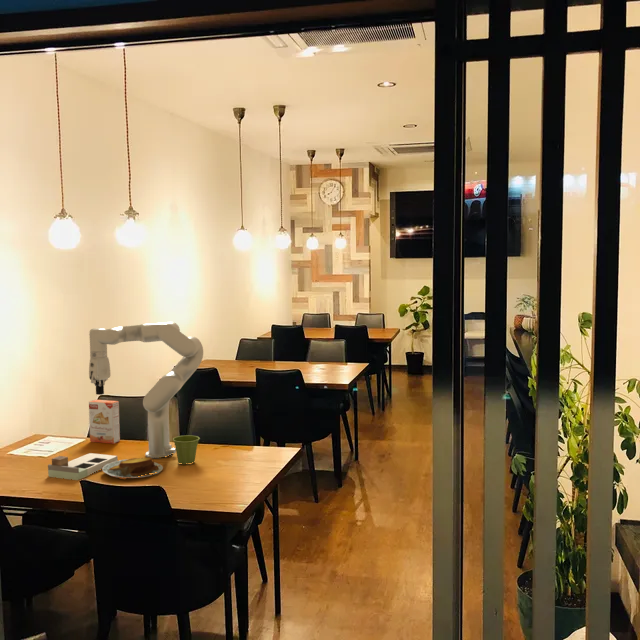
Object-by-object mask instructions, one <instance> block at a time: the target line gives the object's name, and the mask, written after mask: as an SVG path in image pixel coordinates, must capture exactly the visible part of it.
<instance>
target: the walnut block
mask: <svg viewBox="0 0 640 640" xmlns="http://www.w3.org/2000/svg"><path fill="white" fill-rule="evenodd" d="M68 462H69V456H63V455H58V456H55V457H53V458H51V465H59V466H68Z"/></svg>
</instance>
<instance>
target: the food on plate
mask: <svg viewBox="0 0 640 640" xmlns="http://www.w3.org/2000/svg"><path fill="white" fill-rule="evenodd" d="M163 469H164V466H163V465H162V464H160V463H158V462H155V461H154V460H153V458H151V457H146V456H145V457H139V458H137V457H133V458H129V459H126V458H125V459H119V460H118V461H115V462H111V463H109V464H106V465H105V466H103V468H102V472H103V473H104V474H107V475H109V476H111V477H113V478H119V479H120V480H126V479H138V478H147V477H150V476H153V475H156V474H157V475H158V474H159V473H161V472H162V470H163ZM155 472H157V473H155ZM149 473H155V474H153V475H145V474H149ZM141 475H145V476H141ZM138 476H140V477H138Z"/></svg>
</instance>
